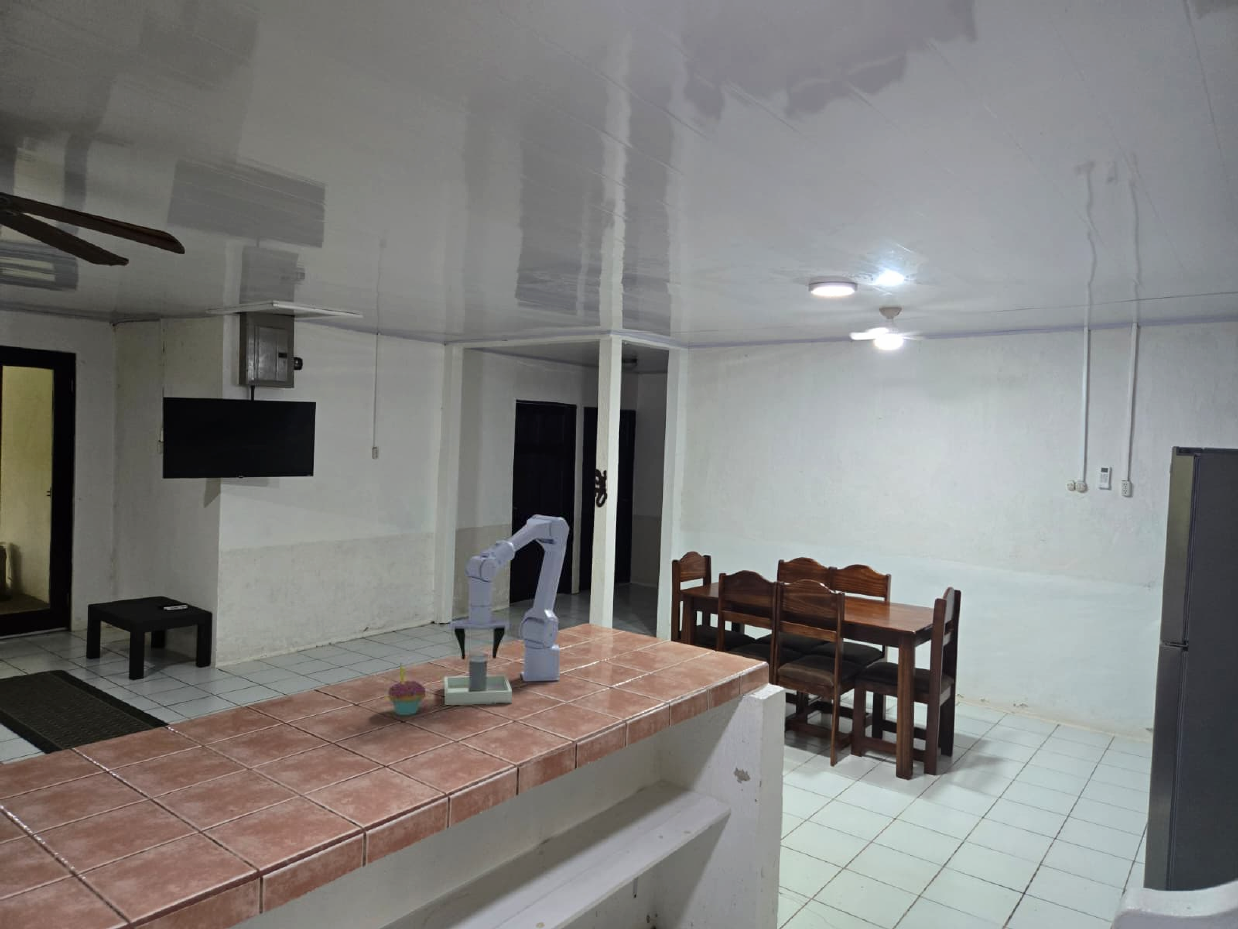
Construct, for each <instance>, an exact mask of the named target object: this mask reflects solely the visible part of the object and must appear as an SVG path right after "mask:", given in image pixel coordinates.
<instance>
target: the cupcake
mask: <svg viewBox="0 0 1238 929" xmlns="http://www.w3.org/2000/svg"><path fill="white" fill-rule="evenodd" d="M399 665H400V666H399V672H400V673H399V674H400V680H401V681H399V682H397V683H394V684H393V686H391V687H390V688H389V690H388V692H387V696H388V697H387V698H388V699H389V700H390V701H391V702H392V704H393V706H394V710H395V714H397V715H399V716H412V715H414V713H415V714H416V713H417V712H418V708H419V705H420V703H421V701H422V700H423V699H424V698H426V696H427V695H426V688H425V687H424V686H423V685H422V684H421V683H419V682H418V681H415V680H406V681H405V675H404V666H403V665H402V663H399ZM411 714H412V715H411Z"/></svg>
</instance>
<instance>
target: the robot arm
mask: <svg viewBox="0 0 1238 929" xmlns="http://www.w3.org/2000/svg"><path fill="white" fill-rule="evenodd" d="M569 531H570V527H569V525H568V523H567V521H566V520H565V518H564V517H561V516H560V517H557V516H548V515H541V514H534V515H532V516H531V517H530V518H529V519H527V520H526V524H525V525H524V526H522V527H521V529H519V530H518V531H517V532H515V533H514V534H513V535H512V536H511V537H510V538H509V539H507V540H503V539H502V540H496V541H494V545H492V546H491V547H489V548H488V549H487V550H484V551H482V552H481V554H480V555H479V556H478V555H477V556H476V555H474V556H472V557H471V558H470V559H469V560H468V561H467V563H466V565H465V567H464V574H465V576H466V577H467V583H468V586H469V588H468V619H466V620H465V619H464V620H455V621H454V620H453V621H452V620H451V621H450V625H449V626H450V627H449V630H450V631H453V632H454V634H455V638H456V640H457V643H458V645H459V648H460V651H461V652H460V653H461V660H465V659H466V648H465V644H466V630H467V631H469V630H473V631H474V630H477V631H478V630H493V631H492V632H493V635H492V636H493V643H492V644H493V646H492V653H491V654H492V659H496V658H497V653H498V650H499V647H500V644H501V643H502V640H503V638H504V636H505V634H506V630H509V629H510V621H509V620H506V619H505V620H504V619H503V620H502V619H492V608H493V606H492V605H493V580H495V579H496V578H497V575H498V572H499V571H500V570H501V568H503V567H504V566H505V565H507V564H508V563H509V562H510V561H512V560H513V559H514V558H515V554H516V552H517V551H518V550H520V549H521V548H523V547H524V546H526V545H528V544H529V543H530V542H532V541H534V540H535V541H536V542H537V543H539V544H540V546H542V548H543V550H544V556H543V561H542V564H541V570H540V573H539V578H538V583H537V586H536V587H537V588H536V592H535V596H534V602H533V606H532V607H531V608H530V609H529V610H527V611H526V612H525V613H524V617H523V620H522V621H521V623H520V625H519V627H518V635H519V637H520V639H521V640H522V644H523V645H524V654H523V655H524V656H523V657H524V658H523V659H524V660H523V661H524V662H523V671H520V675H521V677H522V680H523V682H539V681H540V682H543V681H544V682H545V681H547V682H548V681H559V680H560V678H559V676H560V675H559V674H560V673H559V672H560V648H559V645H558V644H555V643H556V642H557V640H558V635H559V628H558V625H559V619H558V616H556V615H555V613H554V612H553V611H554V605H555V601H556V598H557V597H556V596H557V592H558V587H559V583H560V577H561V573H562V569H563V564H564V561H565V559H564V558H565V555H566V550H567V540H568V535H569V533H570V532H569Z"/></svg>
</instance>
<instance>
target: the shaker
mask: <svg viewBox="0 0 1238 929" xmlns="http://www.w3.org/2000/svg"><path fill="white" fill-rule="evenodd" d="M468 658H469V659H468V660H469V662H468V664H469V665H468V676H469V685H468V692H481V691H486V678H487V675H488V674H487V672H488V661H489V660H488V658H489V654H487V653H485V652H471V653H469V655H468Z"/></svg>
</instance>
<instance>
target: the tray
mask: <svg viewBox="0 0 1238 929" xmlns="http://www.w3.org/2000/svg"><path fill="white" fill-rule="evenodd" d="M468 685H469V675H464V676H463V675H461V676H460V675H459V676H458V675H457V676H444V678H443V692H444V693H443V695H444V696H445V697H444V706H445V705H460V706H474V705H473V704H486V705H492V704H491V703H495V704H494V705H497V704H496V703H512V702H513V700H512V699H513V690H512V686H511V684H510V681H509V678H508V675H507V674H491V675H490V674H489V675H488V674H487V678H486V691H481V692H468ZM488 703H489V704H488ZM512 704H513V703H512Z"/></svg>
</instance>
